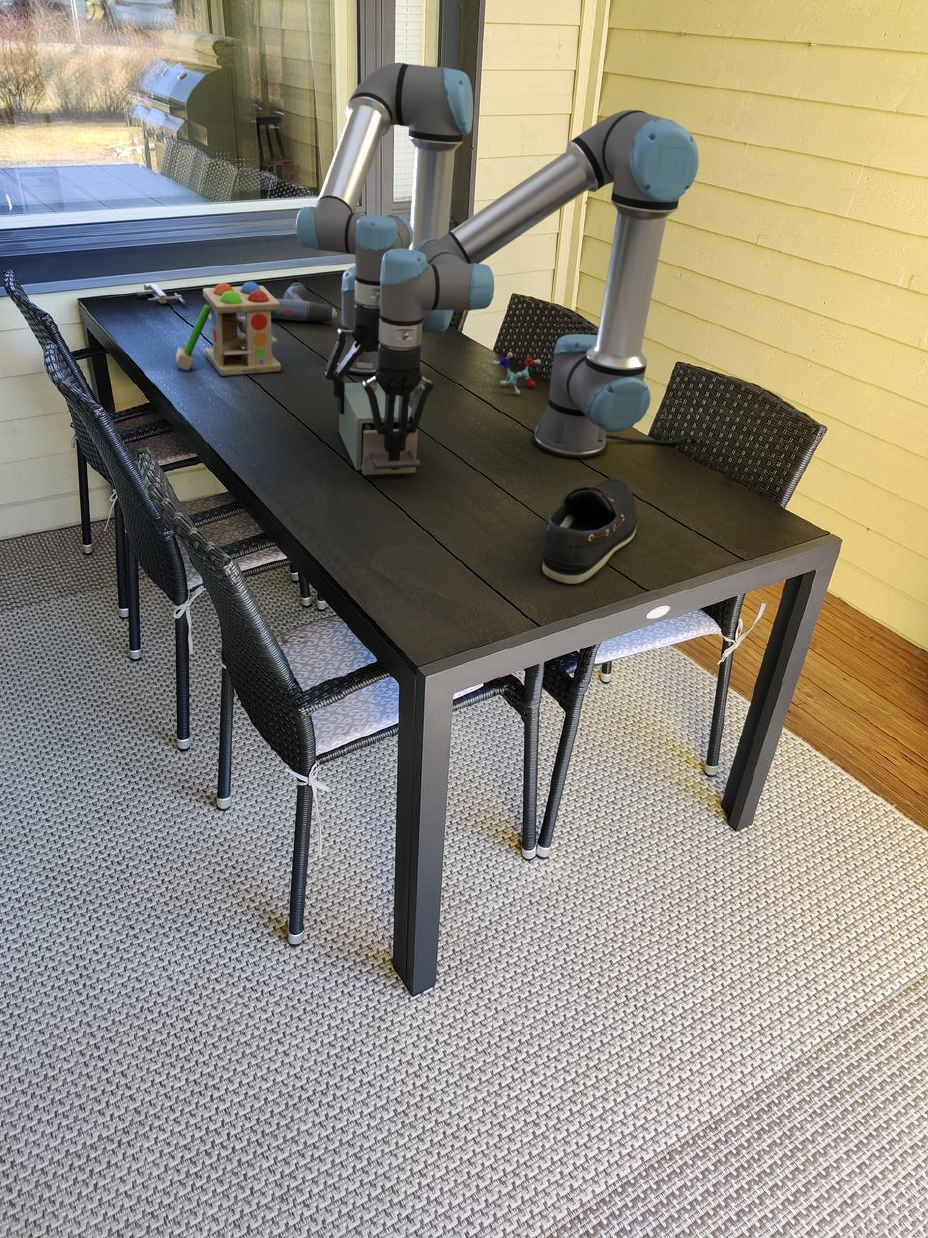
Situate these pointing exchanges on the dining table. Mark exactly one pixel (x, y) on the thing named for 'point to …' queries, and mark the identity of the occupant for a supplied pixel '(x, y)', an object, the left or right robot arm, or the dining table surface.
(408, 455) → the drawer
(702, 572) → the dining table surface
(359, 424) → the cabinet
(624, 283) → the right robot arm
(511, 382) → the molecular model
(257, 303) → the pounding bench toy
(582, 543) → the boat shoe
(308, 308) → the power drill
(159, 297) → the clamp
